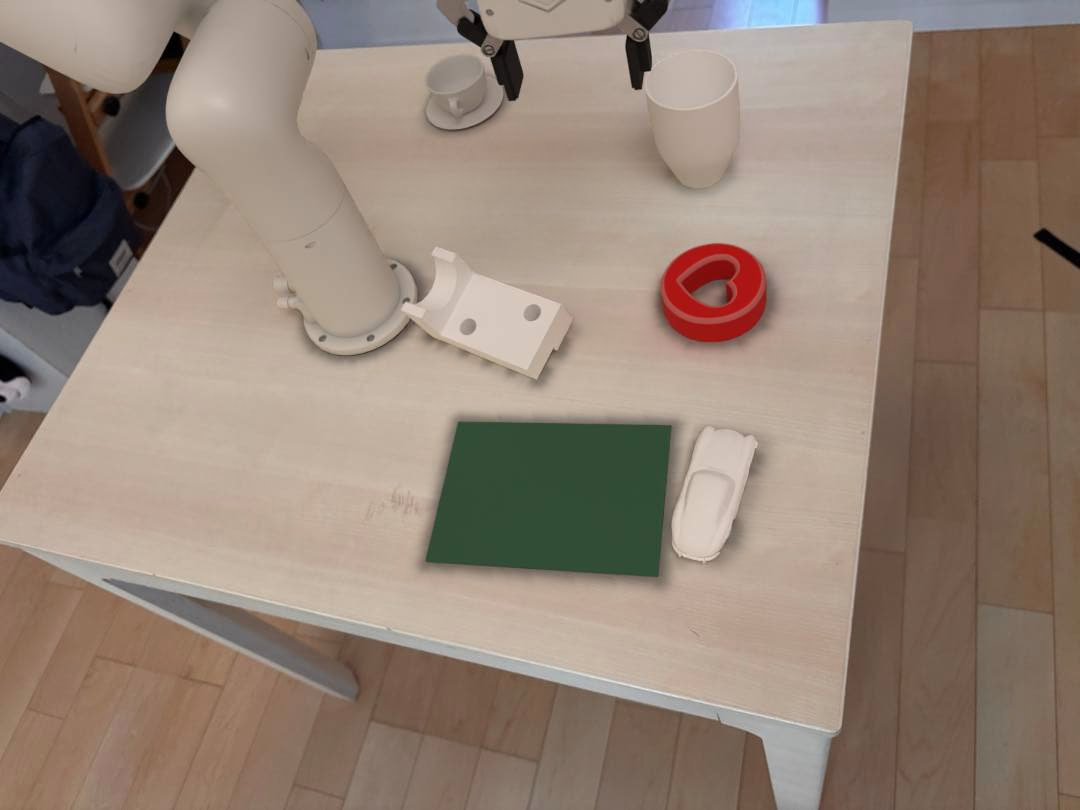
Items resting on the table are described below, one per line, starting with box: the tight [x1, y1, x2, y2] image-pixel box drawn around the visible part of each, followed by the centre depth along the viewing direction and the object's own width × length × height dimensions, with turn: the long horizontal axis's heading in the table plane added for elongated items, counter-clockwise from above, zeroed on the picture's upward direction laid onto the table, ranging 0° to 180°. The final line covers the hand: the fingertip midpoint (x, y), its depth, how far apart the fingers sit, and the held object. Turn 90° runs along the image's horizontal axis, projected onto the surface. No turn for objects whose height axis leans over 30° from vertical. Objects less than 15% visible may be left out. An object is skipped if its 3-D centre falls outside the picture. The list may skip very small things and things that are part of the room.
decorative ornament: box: [659, 242, 767, 343], centre depth 81 cm, size 10×10×3 cm
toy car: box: [671, 425, 759, 565], centre depth 70 cm, size 5×12×4 cm, turn 158°
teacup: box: [424, 52, 504, 130], centre depth 106 cm, size 10×10×5 cm
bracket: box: [401, 246, 574, 381], centre depth 83 cm, size 13×7×8 cm, turn 57°
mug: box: [643, 48, 741, 189], centre depth 88 cm, size 12×9×12 cm
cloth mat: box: [425, 421, 672, 578], centre depth 75 cm, size 20×14×1 cm
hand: (576, 83), depth 66 cm, fingers open, 9 cm apart
